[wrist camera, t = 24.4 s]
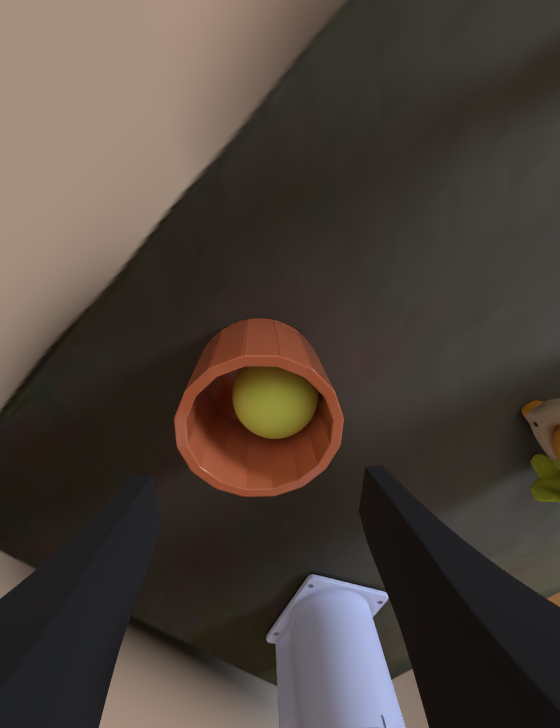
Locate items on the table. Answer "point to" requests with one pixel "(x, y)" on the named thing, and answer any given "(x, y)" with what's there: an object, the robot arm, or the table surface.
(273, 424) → the ball
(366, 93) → the table surface
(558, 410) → the bird rattle
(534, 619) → the robot arm
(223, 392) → the pot
